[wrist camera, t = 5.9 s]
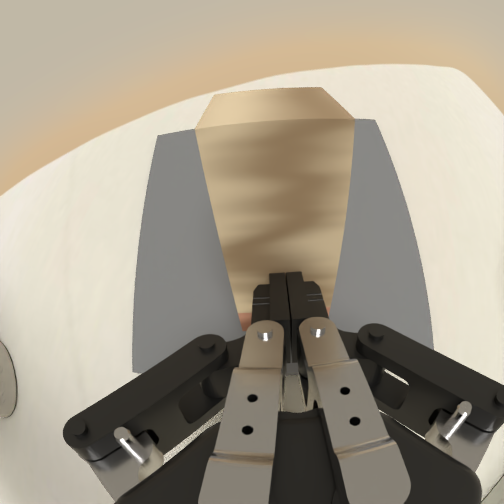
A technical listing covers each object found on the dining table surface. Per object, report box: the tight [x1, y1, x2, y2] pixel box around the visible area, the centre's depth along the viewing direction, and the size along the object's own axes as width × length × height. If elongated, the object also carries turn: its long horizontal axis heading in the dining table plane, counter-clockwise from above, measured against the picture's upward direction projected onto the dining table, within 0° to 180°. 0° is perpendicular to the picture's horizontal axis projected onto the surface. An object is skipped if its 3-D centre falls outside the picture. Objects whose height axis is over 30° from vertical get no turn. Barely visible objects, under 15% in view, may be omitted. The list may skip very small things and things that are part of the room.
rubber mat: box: [132, 119, 434, 375], centre depth 21 cm, size 22×22×1 cm
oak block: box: [195, 87, 355, 331], centre depth 14 cm, size 5×5×12 cm
